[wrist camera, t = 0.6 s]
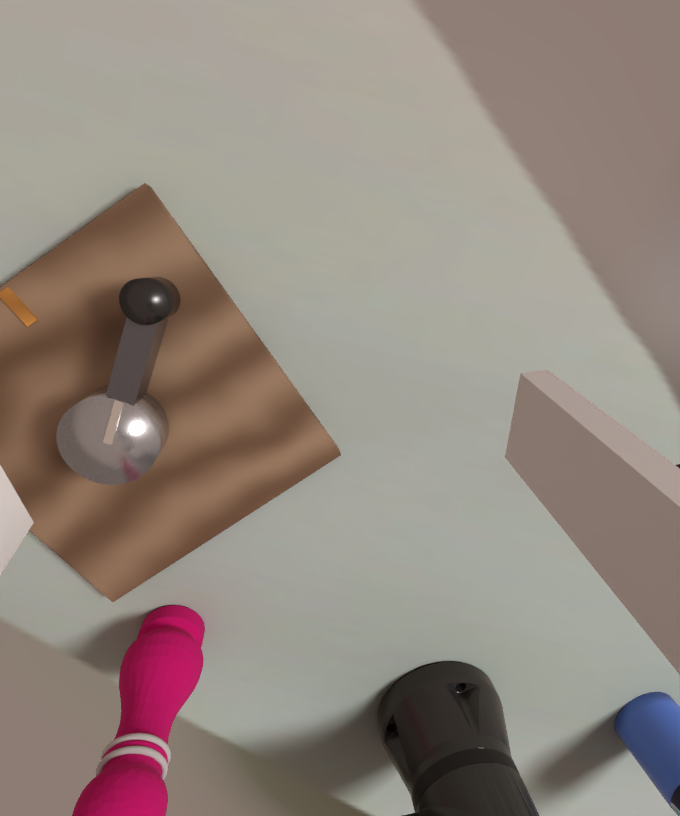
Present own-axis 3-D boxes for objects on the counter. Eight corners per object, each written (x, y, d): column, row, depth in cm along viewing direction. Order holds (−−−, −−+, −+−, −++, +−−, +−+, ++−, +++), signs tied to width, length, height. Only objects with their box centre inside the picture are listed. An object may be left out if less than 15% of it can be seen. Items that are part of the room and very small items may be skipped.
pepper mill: (125, 642, 44) (10, 924, 25) (155, 590, 42) (57, 849, 24) (190, 663, 46) (130, 938, 27) (221, 614, 44) (180, 870, 26)
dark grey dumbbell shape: (156, 474, 37) (140, 502, 32) (69, 450, 35) (39, 476, 31) (213, 296, 33) (203, 300, 28) (117, 259, 31) (92, 258, 27)
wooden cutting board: (338, 448, 40) (341, 455, 39) (118, 590, 42) (111, 603, 40) (150, 187, 31) (143, 182, 30) (-119, 380, 33) (-139, 386, 32)
